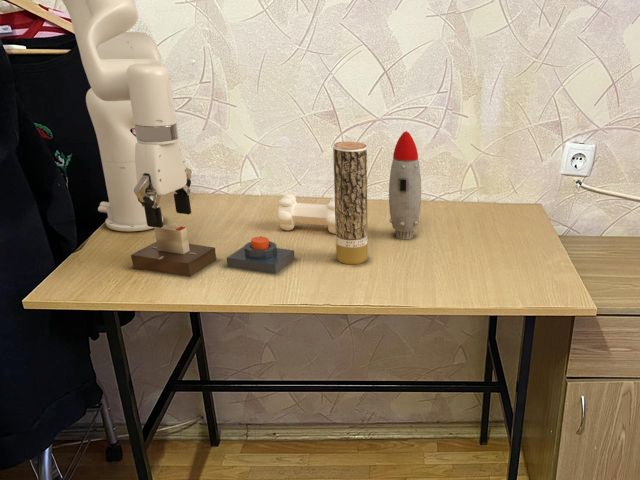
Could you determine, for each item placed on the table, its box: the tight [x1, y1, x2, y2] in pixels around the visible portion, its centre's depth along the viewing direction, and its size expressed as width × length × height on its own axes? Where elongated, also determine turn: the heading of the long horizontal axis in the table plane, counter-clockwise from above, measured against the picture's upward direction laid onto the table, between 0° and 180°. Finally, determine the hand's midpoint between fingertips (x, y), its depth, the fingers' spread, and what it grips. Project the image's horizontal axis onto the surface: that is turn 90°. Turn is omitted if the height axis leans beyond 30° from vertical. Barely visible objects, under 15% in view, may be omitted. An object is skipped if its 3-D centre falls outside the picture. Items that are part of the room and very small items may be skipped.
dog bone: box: [276, 193, 336, 235], centre depth 172 cm, size 15×9×8 cm, turn 87°
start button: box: [250, 236, 270, 249], centre depth 151 cm, size 4×4×2 cm
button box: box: [226, 240, 296, 275], centre depth 152 cm, size 11×9×4 cm
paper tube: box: [332, 141, 368, 266], centre depth 152 cm, size 7×7×25 cm
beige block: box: [153, 224, 190, 254], centre depth 147 cm, size 6×2×5 cm, turn 77°
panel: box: [130, 241, 217, 278], centre depth 149 cm, size 13×10×3 cm
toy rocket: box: [388, 130, 422, 240], centre depth 168 cm, size 8×8×25 cm
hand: (170, 219), depth 145 cm, fingers open, 9 cm apart
